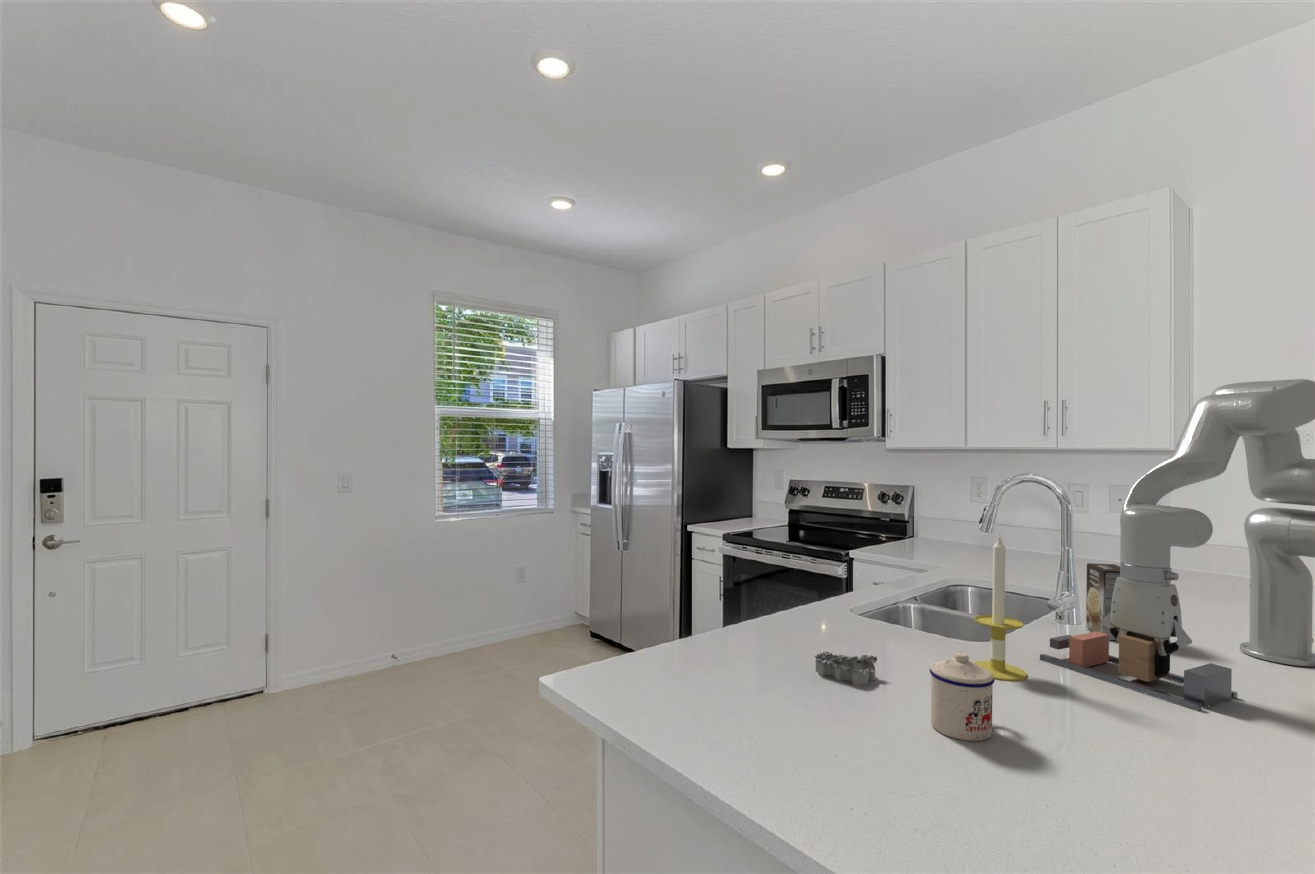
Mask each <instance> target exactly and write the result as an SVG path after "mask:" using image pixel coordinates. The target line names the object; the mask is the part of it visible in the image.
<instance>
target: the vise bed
mask: <svg viewBox="0 0 1315 874" xmlns="http://www.w3.org/2000/svg"><path fill="white" fill-rule="evenodd" d="M1039 660H1041V661H1043V660H1044V662H1046V661H1047V662H1046V663H1049V662H1050V663H1049V664H1053V665H1055V666H1058V665H1060V667H1061V666H1062V668H1064V667H1065V668H1064V669H1068V670H1071V671H1074V670H1075V672H1077V673H1080V674H1082V675H1083V674H1084V675H1086V674H1088V675H1087V676H1089V675H1090V676H1089V677H1093V678H1094V679H1095V678H1096V679H1099V680H1101V679H1102V681H1104V682H1105V681H1106V682H1108V683H1111V684H1114V683H1115V684H1114V685H1117V684H1118V685H1117V686H1120V685H1121V686H1120V687H1123V686H1124V687H1123V688H1126V689H1129V688H1131V689H1130V690H1132V689H1134V690H1133V691H1135V690H1137V691H1136V692H1138V691H1140V692H1139V693H1141V692H1143V693H1142V694H1144V693H1147V694H1150V695H1152V696H1151V697H1153V696H1155V697H1154V698H1156V697H1160V698H1162V699H1161V700H1163V699H1165V700H1164V701H1166V700H1167V701H1166V702H1169V703H1172V702H1174V703H1173V704H1175V703H1176V705H1178V704H1180V705H1179V706H1181V705H1182V707H1184V706H1186V707H1185V708H1187V707H1189V708H1188V709H1190V708H1191V710H1193V709H1194V710H1193V711H1196V712H1200V711H1202V710H1203V708H1206V707H1208V706H1212V707H1214V706H1213V705H1215V706H1217V705H1216V704H1218V705H1220V704H1219V703H1221V704H1223V703H1222V702H1224V703H1226V701H1227V702H1229V700H1230V701H1232V700H1236V699H1238V692H1236V691H1235V690H1234V691H1233V690H1232V681H1233V680H1232V677H1233V676H1232V672H1233V671H1232V670H1233V669H1232V668H1231V667H1227V666H1223V665H1219V664H1215V663H1211V662H1210V663H1207V664H1204V665H1200V666H1195V667H1191V668H1189V669H1185V670H1183V676H1182V675H1178V674H1176V673H1171V672H1169V676H1167V677H1164V678H1163V679H1165V680H1168V679H1171V680H1174V681H1173V682H1175V681H1177V682H1176V683H1178V682H1180V683H1179V684H1181V683H1184V684H1183V697H1181V696H1179V695H1175V694H1171V693H1168V692H1165V691H1162V690H1159V689H1155V688H1153V687H1150V686H1147V685H1144V684H1140V683H1137V682H1133V681H1130V680H1127V679H1124V678H1121V677H1117V676H1115V675H1111V674H1110V673H1109V674H1108V673H1105V672H1101V671H1099V670H1097V669H1093V668H1090V667H1084V666H1080V665H1077V664H1074V663H1071V662H1069V661H1067V660H1065V659H1061V658H1057V657H1056V656H1052V655H1048V654H1046V653H1041V654H1039ZM1111 662H1112V664H1115V665H1117V666H1119V657H1117V656H1113V655H1110V654H1109V662H1108V663H1111ZM1171 680H1170V681H1171ZM1147 694H1146V695H1147ZM1150 695H1149V696H1150ZM1160 698H1159V699H1160ZM1232 698H1233V699H1232ZM1235 698H1236V699H1235ZM1202 707H1203V708H1202ZM1206 709H1207V708H1206ZM1199 710H1200V711H1199Z"/></svg>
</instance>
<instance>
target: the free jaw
mask: <svg viewBox="0 0 1315 874" xmlns="http://www.w3.org/2000/svg"><path fill="white" fill-rule="evenodd" d="M1049 648H1052V649H1055V650H1058V651H1059V650H1063V649H1067V648H1068V651H1069V653H1068V654H1069V655H1068V657H1069V658H1068V659H1069V661H1068V662H1071V663H1074V664H1077V665H1080V666H1084V667H1087V668H1090V667H1092V666H1097V665H1101V664H1105V663H1110V662H1109V655H1110V640H1109V635H1108V634H1104V633H1101V632H1097V631H1095V632H1091V631H1090V632H1085V633H1082V634H1077V635H1072V634H1071V635H1070V634H1066V635H1060V636H1054V637H1050V638H1049Z"/></svg>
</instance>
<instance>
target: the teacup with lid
mask: <svg viewBox="0 0 1315 874" xmlns="http://www.w3.org/2000/svg"><path fill="white" fill-rule="evenodd" d="M974 662H975V661H972V660H970V659H969V655H968V654H967V653H964V652H955V654H954V657H951V658H948V659H946V660H939V661H935V662H933V663H932V664H931V666H930V668H929V673H930V677H931V678H930V723H931V726H932V728H933V729H935V730H936V731H937V732H939V733H941V734H943V735H944V736H946V737H949V738H954V739H956V740H960V741H965V742H966V741H967V742H968V741H969V742H980V741H981V742H982V741H985V740H988V739H989V738H991V736H992V734H993V684H994V683H995V679H994V678H993V675H992V673H991V672H990V671H988V670H987V669H985V668H983V667H981V666H978V665H977V664H975V663H974Z"/></svg>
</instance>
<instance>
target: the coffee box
mask: <svg viewBox="0 0 1315 874" xmlns="http://www.w3.org/2000/svg"><path fill="white" fill-rule="evenodd" d="M1117 577H1120V565H1117V564H1115V563H1114V564H1113V563H1086V592H1085V593H1086V594H1085V595H1086V596H1085V597H1086V598H1085V599H1086V601H1085V608H1086V609H1085V629H1086V628H1088V629H1089V630H1090V631H1089V630H1088V629H1087V630H1088V631H1089V632H1090V633H1091V632H1095V631H1097V632H1101V633H1104V634H1108V635H1109V641H1112V640H1116V638H1115V637H1114V636H1113V635H1112V634H1111V632H1110V630H1108V629H1107V628H1106V627H1105V626H1104V625H1103V624H1102V622H1101V620H1102V619H1103V618H1104V617H1105V616H1107V615H1108V614H1109V613H1110V612H1111V605H1112V597H1113V591H1114V586H1115V583H1116V579H1117Z"/></svg>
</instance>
